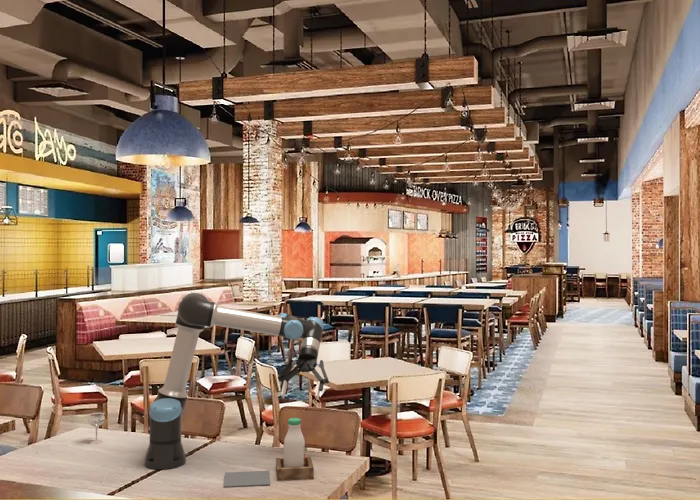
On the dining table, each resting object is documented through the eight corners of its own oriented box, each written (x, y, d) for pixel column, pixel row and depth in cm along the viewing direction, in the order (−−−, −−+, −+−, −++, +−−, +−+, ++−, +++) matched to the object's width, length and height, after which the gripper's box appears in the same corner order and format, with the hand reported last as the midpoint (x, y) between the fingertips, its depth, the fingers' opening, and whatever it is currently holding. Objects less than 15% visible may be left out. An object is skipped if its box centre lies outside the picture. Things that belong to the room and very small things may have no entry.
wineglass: (84, 444, 286) (84, 415, 286) (93, 439, 293) (93, 411, 293) (99, 445, 285) (99, 416, 285) (108, 440, 292) (108, 412, 292)
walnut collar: (277, 480, 244) (277, 469, 244) (275, 468, 257) (275, 457, 257) (313, 479, 246) (313, 467, 246) (310, 467, 259) (310, 456, 259)
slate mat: (223, 487, 237) (223, 486, 237) (225, 473, 251) (225, 472, 251) (270, 485, 239) (270, 484, 239) (269, 471, 253) (269, 470, 253)
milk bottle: (301, 478, 247) (301, 422, 247) (281, 476, 248) (281, 421, 248) (307, 470, 254) (307, 417, 254) (287, 469, 256) (287, 415, 256)
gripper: (340, 357, 278) (332, 403, 264) (281, 356, 283) (270, 401, 269) (337, 346, 273) (329, 392, 259) (277, 345, 278) (266, 390, 264)
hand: (299, 397), depth 264 cm, fingers open, 13 cm apart
